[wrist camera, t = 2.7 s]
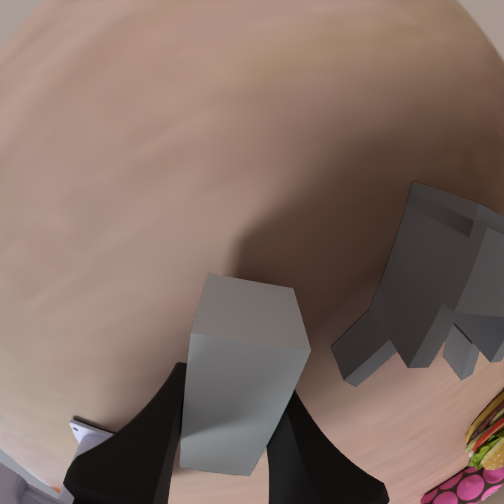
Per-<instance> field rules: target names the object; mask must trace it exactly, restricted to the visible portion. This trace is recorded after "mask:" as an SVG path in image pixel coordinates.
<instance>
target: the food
mask: <svg viewBox="0 0 504 504" xmlns="http://www.w3.org/2000/svg"><path fill="white" fill-rule="evenodd" d="M465 441H466V443H467V446H466V447H465V448H464V452H468V451H470V450H472V451H471V453H470V454H469V457H470V460H469V463H468V466H475V468H476V469H477V470H479V469H480V468H481V467H484V468H485V469H486V470H495V469H499V468H501V467H504V391H503V392H502V393H501V394H499V396H498V397H497V398H496V399H495V400H494V401H493V402H492V403H491V404H490V405H489V406H487V407H486V409H485V410H484V411H483V412H482V413H481V414H480V416H479V417H478V418H477V419H476V420H475V422H474V423H473V424H472V425H471V427H470V428H469V430H468V432H467V434H466V436H465Z"/></svg>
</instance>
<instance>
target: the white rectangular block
mask: <svg viewBox="0 0 504 504" xmlns="http://www.w3.org/2000/svg"><path fill="white" fill-rule="evenodd" d="M310 353H311V348H310V345H309V341H308V337H307V334H306V330H305V327H304V323H303V320H302V317H301V313H300V310H299V306H298V303H297V299H296V296H295V293H294V289H293V288H289V287H283V286H277V285H271V284H266V283H260V282H255V281H249V280H244V279H238V278H233V277H228V276H222V275H217V274H212V273H208V275H207V278H206V281H205V285H204V288H203V291H202V295H201V298H200V302H199V305H198V308H197V312H196V315H195V319H194V322H193V326H192V329H191V334H190V343H189V352H188V361H187V371H186V382H185V393H184V405H183V417H182V432H181V448H180V467H182V468H188V469H194V470H200V471H206V472H213V473H221V474H230V475H241V476H250V475H251V473H252V471H253V470H254V468H255V466H256V464H257V463H258V461H259V459H260V457H261V455H262V453H263V452H264V450H265V448H266V446H267V444H268V442H269V440H270V438H271V436H272V434H273V432H274V431H275V429H276V427H277V425H278V423H279V421H280V419H281V416H282V414H283V412H284V410H285V408H286V406H287V404H288V402H289V400H290V398H291V396H292V393H293V391H294V389H295V387H296V385H297V382H298V380H299V378H300V376H301V373H302V371H303V369H304V367H305V364H306V362H307V360H308V357H309V355H310Z"/></svg>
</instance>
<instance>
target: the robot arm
mask: <svg viewBox="0 0 504 504" xmlns="http://www.w3.org/2000/svg"><path fill="white" fill-rule="evenodd" d="M186 371H187V364H186V363H181V362H178V363H176V365H175V367H174V369H173V371H172V372H171V374H170V376H169V377H168V379H167V380H166V382H165V383H164V384H163V386H162V387H161V388H160V390H159V391H158V392H157V394H156V395H155V396H154V397H153V398H152V400H151V401H150V402H149V403H148V404H147V405H146V406H145V408H144V409H143V410H142V411H141V412H140V413H139V414H138V415H137V416H136V417H134V418H133V419H132V420H131V421H130V422H129V423H128V424H126V425H125V426H124V427H123V428H122V429H120V430H119V431H118V432H117V433H115V434H112V433H109V432H106V431H103V430H100V429H97V428H94V427H91V426H89V425H86V424H83V423H81V422H78V421H76V420H70V422H69V424H70V426H71V428H72V430H73V432H74V434H75V436H76V439H77V441H78V443H79V446H78V448H77V451H76V453H75V455H74V458H73V460H72V463H71V465H70V467H69V469H68V470H67V473H66V476H65V479H64V482H63V486H62V489H61V492H60V495H59V498H58V499H56V498H54V497H52V496H50V495H48V494H46V493H44V492H43V491H41V490H39V489H37V488H35V487H33V486H32V485H30V484H28V483H27V482H26V480H25V479H23V478H22V477H21V476H20V475H18V474H17V473H16V472H14V471H13V470H11V469H9V468H8V467H6V466H5V465H3V464H2V463H0V504H168V497H169V489H170V482H171V475H172V469H173V462H174V457H175V453H176V449H177V446H178V442H179V438H180V435H181V431H182V417H183V405H184V393H185V382H186ZM266 448H267V456H268V464H269V504H388V502H389V501H390V500H389V496H388V493H387V490H386V487H385V485H384V483H383V482H381V481H379V480H377V479H376V478H374V477H372V476H371V475H369V474H367V473H366V472H365V471H363V470H362V469H360V468H359V467H358V466H356V465H355V464H354V463H353V462H351V461H350V460H349V459H348V458H347V457H346V456H344V455H343V454H342V453H341V452H340V451H339V450H338V449H337V448H336V447H335V446H334V445H333V444H332V443H331V442H330V441H329V439H328V438H327V437H326V436H325V435H324V434H323V432H322V431H321V430H320V428H319V427H318V426H317V424H316V423H315V422H314V420H313V419H312V417H311V416H310V414H309V413H308V411H307V410H306V408H305V407H304V405H303V403H302V402H301V400H300V398H299V396H298V395H297V393H296V391H295V389H294V391H293V393H292V396H291V398H290V400H289V402H288V404H287V406H286V408H285V410H284V412H283V414H282V416H281V419H280V421H279V423H278V425H277V427H276V429H275V431H274V432H273V434H272V436H271V438H270V440H269V442H268V444H267V446H266Z"/></svg>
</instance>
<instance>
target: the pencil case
mask: <svg viewBox="0 0 504 504" xmlns="http://www.w3.org/2000/svg"><path fill="white" fill-rule="evenodd" d="M503 484H504V467H501V468H499V469H495V470H486V469H485V468H484V467H481V468H480V469H479V470H477V469H476V468H475V466H470V467H468V468H467V469H466V470H464V471H462V472H461V473H459V474H458V475H456V476H455V477H453V478H452V479H450V480H448V481H447V482H445V483H443V484H442V485H440V486H439V487H437V488H436V489H434V490H433V491H431V492H430V493H428V494H427V495H424V496H423V497H422V498H421V500H420V501H421V504H476V503H478V502H479V501H481V500H482V499H484V498H485V497H487V496H488V495H490V494H491V493H493V492H494V491H496V490H497V489H498V488H500V487H501V486H502V485H503Z"/></svg>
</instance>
